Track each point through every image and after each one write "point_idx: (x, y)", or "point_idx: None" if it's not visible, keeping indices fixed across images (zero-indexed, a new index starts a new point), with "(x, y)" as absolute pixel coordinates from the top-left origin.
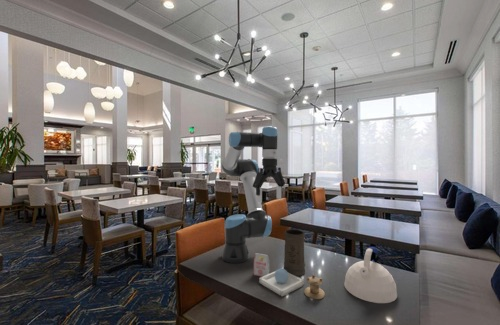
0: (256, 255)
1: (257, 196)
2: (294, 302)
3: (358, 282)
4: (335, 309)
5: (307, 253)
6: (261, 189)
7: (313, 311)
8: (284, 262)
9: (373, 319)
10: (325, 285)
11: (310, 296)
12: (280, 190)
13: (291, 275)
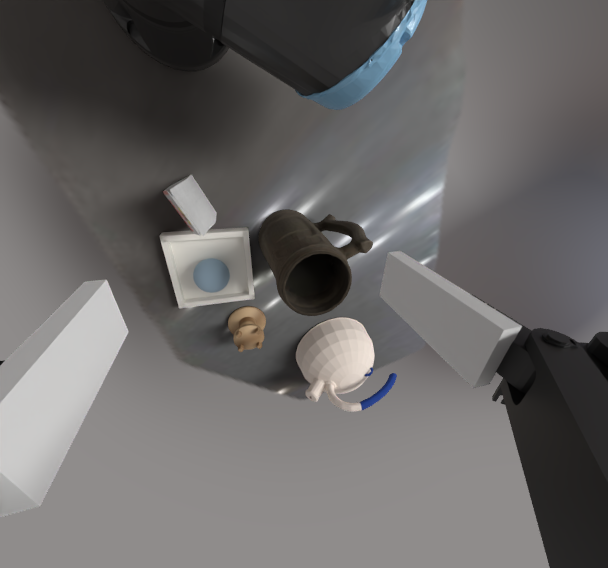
0: (171, 197)
1: (51, 330)
2: (191, 324)
3: (305, 370)
4: (240, 360)
5: (400, 182)
6: (36, 492)
7: (204, 352)
8: (263, 236)
9: (264, 387)
10: (288, 312)
11: (229, 329)
12: (437, 349)
13: (247, 270)
